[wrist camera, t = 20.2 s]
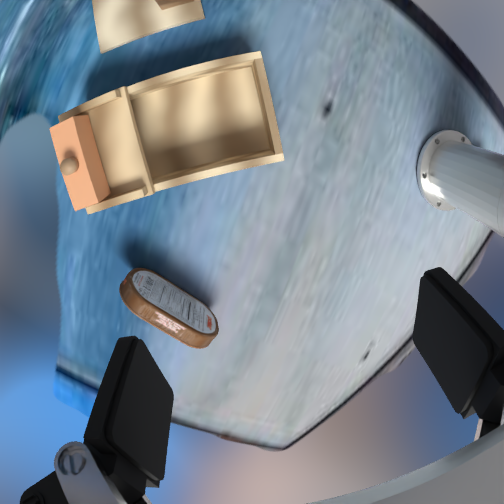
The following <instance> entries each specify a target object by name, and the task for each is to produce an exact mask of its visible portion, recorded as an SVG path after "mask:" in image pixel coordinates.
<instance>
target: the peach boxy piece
mask: <svg viewBox="0 0 504 504" xmlns="http://www.w3.org/2000/svg"><path fill="white" fill-rule="evenodd" d="M50 132H51V136H52V140H53V144H54V147H55V151H56V155H57V158H58V161H59V165H60V170H61V172H62V174H63V178H64V181H65V184H66V187H67V190H68V193H69V196H70V198H71V201H72V204H73V207H74V210H75V211H77V210H80V209H82V208H85V207H88V206H91V205H94V204H97V203H99V202H100V201H102V200H103V199H104V198H105V197H107V196H108V195H109V194H111V191H110V188H109V185H108V182H107V179H106V176H105V172H104V169H103V166H102V163H101V159H100V156H99V153H98V149H97V146H96V142H95V138H94V135H93V131H92V127H91V123H90V119H89V115H82V116H73V117H71V118H69V119H67V120H65V121H63V122H61V123H59V124H57V125H55V126H53V127H51V128H50Z"/></svg>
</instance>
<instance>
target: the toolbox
mask: <svg viewBox="0 0 504 504" xmlns="http://www.w3.org/2000/svg"><path fill="white" fill-rule="evenodd" d="M82 115H89V119H90V123H91V127H92V131H93V135H94V138H95V142H96V146H97V149H98V153H99V156H100V159H101V163H102V166H103V169H104V172H105V176H106V179H107V182H108V185H109V188H110V191H111V194H109V195H108V196H107V197H105V198H104V199H103V200H102V201H100V202H99V203H97V204H94V205H91V206H88V207H86V210H87V213H88V214H91V213H94V212H97V211H100V210H103V209H106V208H109V207H113V206H116V205H119V204H122V203H125V202H128V201H132V200H135V199H138V198H142V197H145V196H148V195H152V194H154V193H155V192H156V191H160V190H163V189H167V188H170V187H174V186H177V185H181V184H185V183H189V182H192V181H196V180H200V179H204V178H208V177H212V176H216V175H220V174H225V173H229V172H233V171H237V170H242V169H246V168H251V167H255V166H260V165H265V164H270V163H274V162H279V161H284V156H283V151H282V146H281V141H280V136H279V131H278V126H277V121H276V117H275V112H274V107H273V103H272V98H271V94H270V89H269V85H268V80H267V76H266V72H265V67H264V63H263V59H262V55H261V51H257V52H251V53H246V54H241V55H236V56H231V57H226V58H221V59H217V60H213V61H209V62H205V63H201V64H197V65H193V66H189V67H186V68H182V69H179V70H175V71H172V72H169V73H166V74H162V75H159V76H156V77H153V78H150V79H147V80H144V81H142V82H139V83H136V84H133V85H131V86H128V87H125V86H123V87H121V88H118V89H116V90H113V91H111V92H108V93H106V94H103V95H101V96H99V97H97V98H94V99H92V100H90V101H88V102H85V103H83V104H81V105H79V106H77V107H75V108H73V109H71V110H69V111H67V112H65V113H63V114H61V115H59V116H58V118H59V122H60V123H61V122H63V121H65V120H67V119H69V118H71V117H73V116H82Z"/></svg>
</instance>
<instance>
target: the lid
mask: <svg viewBox="0 0 504 504" xmlns="http://www.w3.org/2000/svg"><path fill="white" fill-rule="evenodd" d="M92 4H93V11H94V17H95V24H96V30H97V36H98V41H99V47H100V52H101V53H102V54H103V53H105V52H107V51H110V50H112V49H114V48H117V47H119V46H122V45H124V44H127V43H129V42H132V41H134V40H137V39H140V38H142V37H145V36H148V35H151V34H154V33H157V32H160V31H163V30H166V29H169V28H173V27H176V26H179V25H183V24H186V23H190V22H194V21H198V20H202V19H205V17H204V13H203V9H202V5H201V1H200V0H92Z"/></svg>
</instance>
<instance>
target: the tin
mask: <svg viewBox="0 0 504 504" xmlns="http://www.w3.org/2000/svg"><path fill="white" fill-rule="evenodd" d="M119 291H120V295H121V298H122V300H123V302H124V303H125V305H126V306H127V307H128V308H129V309H130V310H131V311H132V312H133V313H134V314H135V315H137V316H138V317H140V318H141V319H143V320H144V321H146V322H148V323H149V324H151V325H153V326H154V327H156V328H158V329H159V330H161V331H163V332H165V333H166V334H168V335H170V336H171V337H173V338H175V339H177V340H178V341H180V342H182V343H183V344H185V345H187V346H190V347H193V348H199V349H201V348H206V347H207V346H209V344H210V343H211V341H212V340H213V339H214V338H215V337H216V336H217V334H218V331H219V328H218V322H217V319H216V317H215V315H214V314H213V313H212V311H211V310H210V309H209V308H208V307H207V306H206V305H205V304H204V303H202V302H201V301H200V300H198V299H196V298H195V297H193V296H192V295H190V294H189V293H187V292H186V291H184V290H182V289H181V288H179V287H178V286H176V285H175V284H173V283H172V282H170V281H169V280H167V279H165V278H164V277H162V276H161V275H159V274H158V273H156V272H154V271H152V270H149V269H146V268H135V269H133V270H131V271H130V272H129V273H128V274H127V276H126V278H125V279H124V281H122V283H121V284H120V288H119Z"/></svg>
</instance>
